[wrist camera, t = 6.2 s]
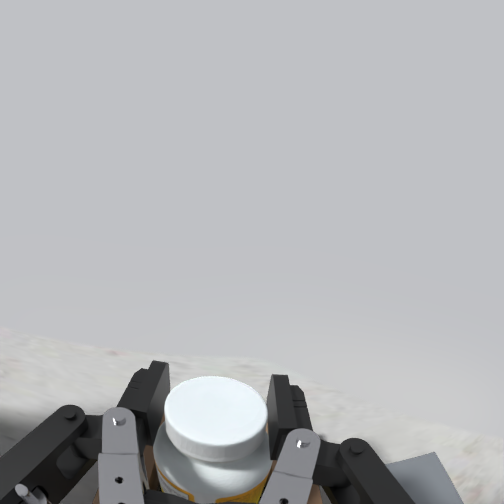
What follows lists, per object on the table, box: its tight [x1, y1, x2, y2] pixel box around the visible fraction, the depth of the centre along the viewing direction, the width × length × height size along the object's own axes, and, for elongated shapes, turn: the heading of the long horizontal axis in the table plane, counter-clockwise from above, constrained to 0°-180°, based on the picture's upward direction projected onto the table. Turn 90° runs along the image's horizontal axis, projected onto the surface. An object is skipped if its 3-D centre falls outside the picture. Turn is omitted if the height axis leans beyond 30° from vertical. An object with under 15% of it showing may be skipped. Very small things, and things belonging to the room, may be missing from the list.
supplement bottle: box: [153, 376, 273, 504], centre depth 11 cm, size 5×5×10 cm
